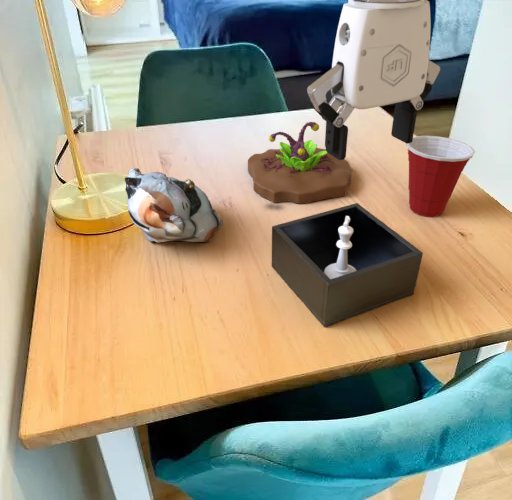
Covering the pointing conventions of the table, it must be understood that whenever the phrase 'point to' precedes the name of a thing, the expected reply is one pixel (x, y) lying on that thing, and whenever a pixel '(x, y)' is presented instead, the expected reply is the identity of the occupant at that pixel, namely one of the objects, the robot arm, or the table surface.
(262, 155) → the plant
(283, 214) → the table surface
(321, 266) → the dark grey open box
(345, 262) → the chess piece
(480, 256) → the table surface
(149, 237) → the lucky cat figurine
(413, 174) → the plastic cup
